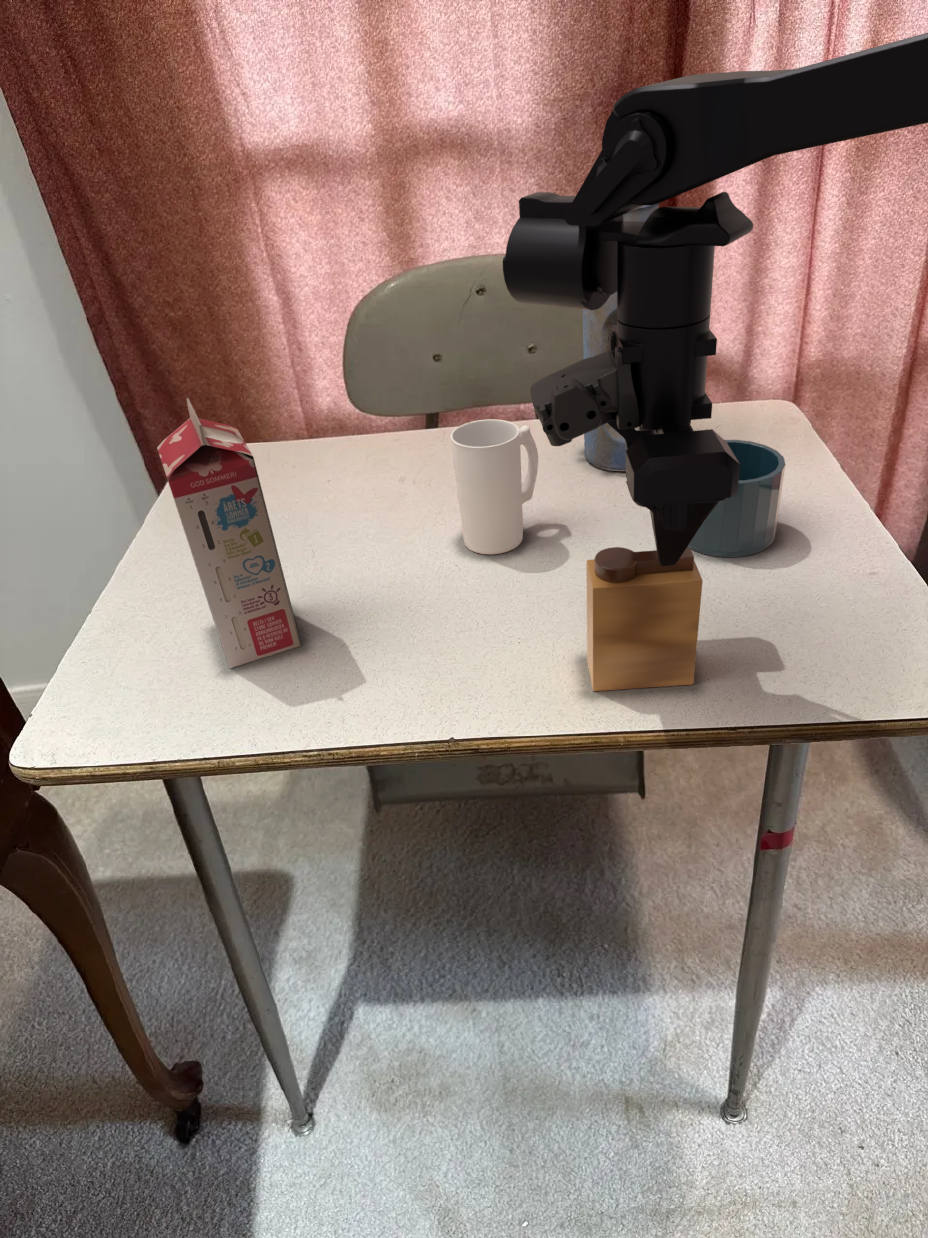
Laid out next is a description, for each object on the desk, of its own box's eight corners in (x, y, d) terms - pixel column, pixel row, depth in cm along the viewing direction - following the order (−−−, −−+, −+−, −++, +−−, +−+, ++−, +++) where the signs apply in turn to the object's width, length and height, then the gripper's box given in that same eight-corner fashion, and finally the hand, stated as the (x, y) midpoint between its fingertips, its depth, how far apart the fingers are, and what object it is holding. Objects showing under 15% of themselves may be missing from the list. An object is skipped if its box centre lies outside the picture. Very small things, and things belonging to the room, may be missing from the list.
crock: (784, 518, 86) (794, 446, 82) (761, 565, 80) (771, 489, 75) (691, 503, 90) (697, 434, 86) (663, 547, 84) (667, 474, 79)
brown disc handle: (686, 554, 64) (687, 541, 63) (696, 577, 61) (697, 563, 61) (592, 561, 64) (592, 548, 64) (597, 584, 62) (597, 570, 61)
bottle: (586, 475, 98) (584, 193, 81) (581, 440, 106) (579, 177, 89) (668, 471, 97) (685, 184, 80) (658, 436, 105) (671, 168, 88)
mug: (489, 564, 84) (480, 453, 77) (448, 541, 89) (436, 434, 82) (561, 526, 89) (558, 420, 82) (519, 506, 93) (513, 403, 87)
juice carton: (284, 609, 81) (226, 389, 68) (301, 645, 76) (242, 414, 63) (216, 630, 79) (144, 407, 66) (229, 668, 74) (153, 435, 61)
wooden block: (683, 654, 70) (691, 551, 64) (693, 684, 67) (703, 579, 61) (587, 660, 70) (586, 559, 65) (592, 691, 67) (592, 588, 61)
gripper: (527, 290, 61) (537, 485, 70) (545, 378, 45) (556, 613, 54) (682, 274, 60) (673, 473, 69) (753, 358, 45) (729, 599, 54)
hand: (655, 532), depth 62 cm, fingers open, 9 cm apart
